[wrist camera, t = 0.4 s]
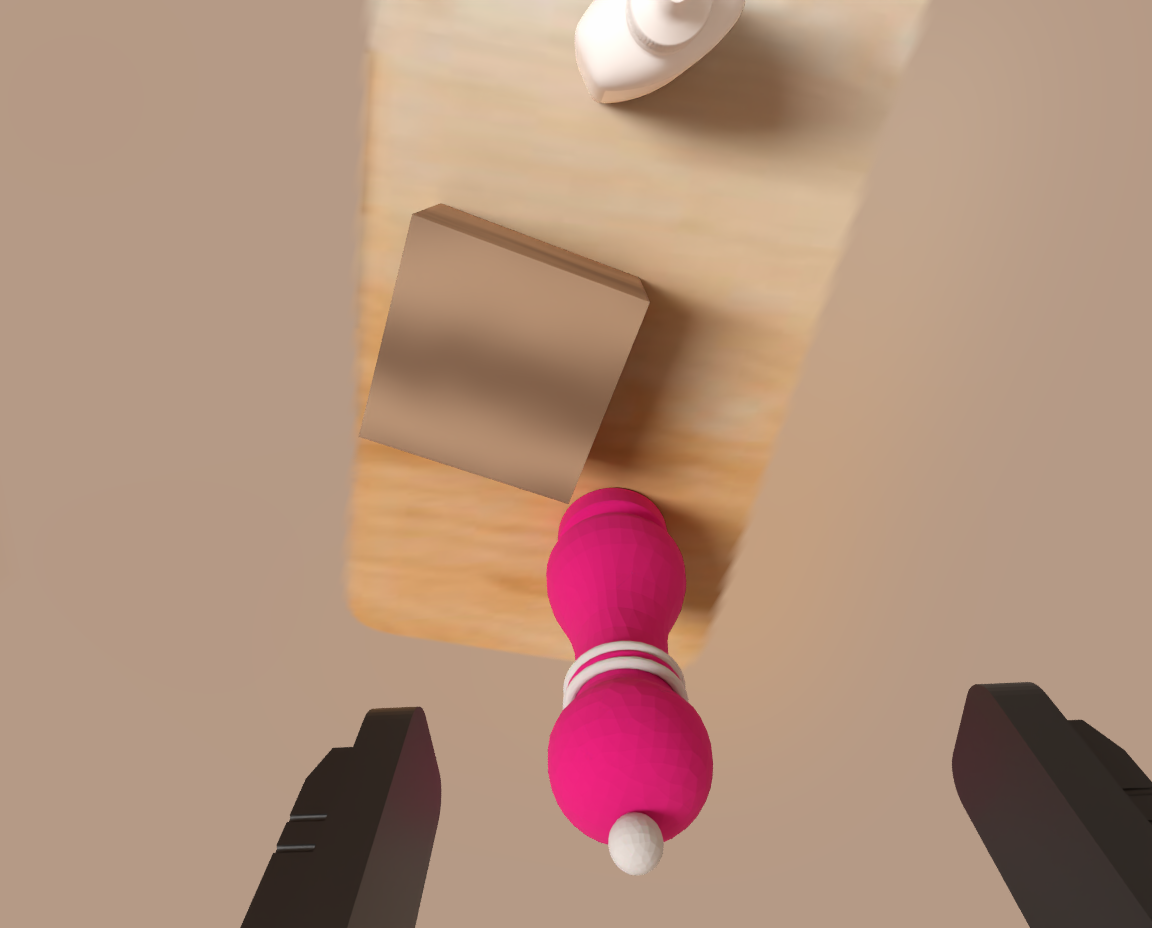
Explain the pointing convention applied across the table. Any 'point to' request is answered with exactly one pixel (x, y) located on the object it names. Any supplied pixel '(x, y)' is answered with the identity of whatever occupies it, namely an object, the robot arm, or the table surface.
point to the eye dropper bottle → (646, 42)
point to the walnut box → (500, 352)
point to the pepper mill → (623, 681)
